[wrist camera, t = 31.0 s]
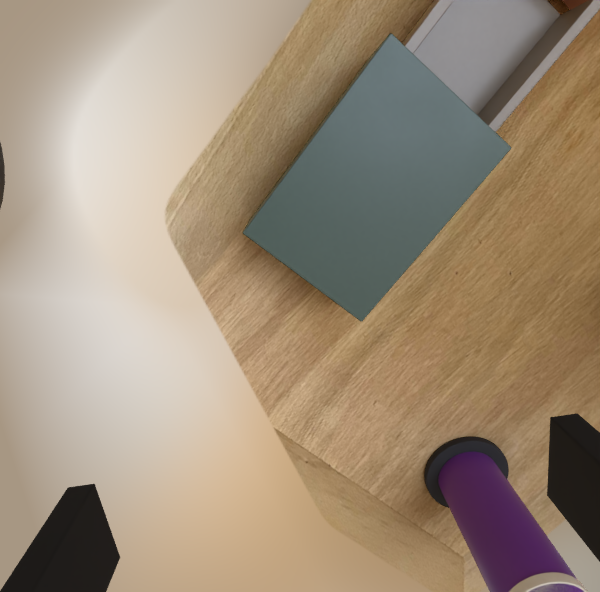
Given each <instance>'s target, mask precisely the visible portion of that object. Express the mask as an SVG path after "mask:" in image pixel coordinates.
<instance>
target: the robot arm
mask: <svg viewBox="0 0 600 592" xmlns="http://www.w3.org/2000/svg"><path fill="white" fill-rule="evenodd" d="M547 496H548V497H549V498H550V499H551V501H552V502H553V503H554V504H555V506H556V507H557V508H558V510H559V511H560V512H561V513H562V515H563V516H564V517H565V518H566V520H567V521H568V522H569V523H570V525H571V526H572V527H573V528H574V530H575V531H576V532H577V534H578V535H579V536H580V537H581V538H582V540H583V541H584V542H585V544H586V545H587V546H588V547H589V549H590V550H591V551H592V552H593V554H594V555H595V556H596V557H597V559H598V560H599V561H600V433H599V432H598V431H597V430H596V429H595V428H594V427H592V426H591V425H590V424H589V423H588V422H587V421H585V420H584V419H583V418H582V417H581V416H580V415H578V414H570V415H564V416H557V417H550V442H549V467H548V492H547ZM119 559H120V556H119V553H118V550H117V547H116V544H115V541H114V539H113V536H112V533H111V530H110V527H109V524H108V521H107V518H106V515H105V513H104V510H103V507H102V504H101V501H100V498H99V495H98V493H97V490H96V487H95V484H90V485H83V486H76V487H69V488H67V490H66V491H65V493H64V495H63V496H62V498H61V499H60V501H59V502H58V504H57V505H56V507H55V508H54V510H53V511H52V513H51V514H50V516H49V517H48V519H47V521H46V522H45V524H44V525H43V527H42V528H41V530H40V531H39V533H38V534H37V536H36V537H35V539H34V540H33V542H32V543H31V545H30V546H29V548H28V549H27V551H26V553H25V554H24V556H23V557H22V559H21V560H20V562H19V563H18V565H17V566H16V568H15V569H14V571H13V572H12V574H11V576H10V577H9V579H8V580H7V582H6V583H5V585H4V586H3V588H2V589H1V591H0V592H106V591H107V588H108V585H109V583H110V580H111V578H112V576H113V573H114V571H115V569H116V566H117V564H118V561H119Z"/></svg>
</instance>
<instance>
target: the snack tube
mask: <svg viewBox="0 0 600 592" xmlns="http://www.w3.org/2000/svg"><path fill="white" fill-rule="evenodd" d="M438 482H439V487H440V489H441V491H442V493H443V495H444V498H445V500H446V502H447V504H448V506H449V508H450V510H451V512H452V514H453V516H454V518H455V520H456V522H457V524H458V527H459V529H460V531H461V533H462V535H463V537H464V539H465V541H466V543H467V545H468V547H469V549H470V551H471V554H472V556H473V558H474V560H475V562H476V564H477V566H478V568H479V570H480V572H481V574H482V576H483V578H484V581H485V583H486V585H487V587H488V589H489V591H490V592H587V590H586V589H585V588H584V586H583V585H582V583H581V582H580V581H578V580H577V578H576V577H575V575H574V574H573V573H572V571H571V570H570V568H569V567H568V566H567V564H566V563H565V561H564V560H563V558H562V557H561V556H560V554H559V553H558V551H557V550H556V549H555V547H554V546H553V544H552V543H551V542H550V540H549V539H548V537H547V536H546V534H545V533H544V531H543V530H542V529H541V527H540V526H539V524H538V523H537V522H536V520H535V519H534V517H533V516H532V514H531V513H530V512H529V510H528V509H527V507H526V506H525V504H524V503H523V502H522V500H521V499H520V497H519V496H518V495H517V493H516V492H515V490H514V489H513V487H512V486H511V485H510V483H509V482H508V480H507V479H506V478H505V476H504V475H503V473H502V472H501V470H500V469H499V468H498V466H497V465H496V463H495V462H494V461H493V459H491V458H490V457H489V456H487V455H485V454H483V453H480V452H464V453H461V454H458V455H456V456H454V457H452V458H451V459H450V460H448V461H447V462H446V463H445V464H444V466H443V467H442V469H441V471H440V473H439V479H438Z"/></svg>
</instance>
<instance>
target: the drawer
mask: <svg viewBox="0 0 600 592" xmlns="http://www.w3.org/2000/svg"><path fill="white" fill-rule="evenodd" d="M562 1H563V2H564V3H565V4H566V6H567V7H568V8H569V9H570V10H569V11H567V12H565V13H563V14H562V15H560V14H559V13H558V12H557V11H556V9H555V8H554V7H553V6H552V5H551V4H550V3H549V2H548V1H547V0H434V1H433V2H432V4H431V5H430V6H429V8H428V9H427V10H426V12H425V13H424V14H423V16H422V17H421V18H420V20H419V21H418V22H417V24H416V25H415V26H414V28H413V29H412V30H411V32H410V33H409V34H408V36H407V37H406V38H405V40H404V41H403V42H402V44H403V45H404V46H405V47H406V48H407V49H408V50H410V51H411V52H412V53H413V54H414V55H415V56H416V57H417V58H418V59H419V60H420V61H421V62H422V63H423V64H424V65H425V66H426V67H427V68H428V69H429V70H431V71H432V72H433V73H434V74H435V75H436V76H437V77H438V78H439V79H440V80H441V81H442V82H443V83H444V84H445V85H446V86H447V87H448V88H449V89H450V90H452V91H453V92H454V93H455V94H456V95H457V96H458V97H459V98H460V99H461V100H462V101H463V102H464V103H465V104H466V105H467V106H468V107H469V108H470V109H472V110H473V111H474V112H475V113H476V114H477V115H478V116H479V117H480V118H481V119H482V120H483V121H484V122H485V123H486V124H487V125H488V126H489V127H490V128H491V129H493V130H494V131H495V132H496V131H497V130H498V129H499V128H500V127H501V125H502V124H503V123H504V122H505V121H506V119H507V118H508V117H509V116H510V115H511V114H512V112H513V111H514V110H515V109H516V108H517V106H518V105H519V104H520V103H521V102H522V101H523V99H524V98H525V97H526V96H527V95H528V93H529V92H530V91H531V90H532V89H533V87H534V86H535V85H536V84H537V83H538V82H539V80H540V79H541V78H542V77H543V76H544V74H545V73H546V72H547V71H548V70H549V69H550V67H551V66H552V65H553V64H554V63H555V61H556V60H557V59H558V58H559V57H560V56H561V54H562V53H563V52H564V51H565V50H566V48H567V47H568V46H569V45H570V44H571V43H572V41H573V40H574V39H575V38H576V37H577V35H578V34H579V33H580V32H581V31H582V30H583V28H584V27H585V26H586V25H587V24H588V22H589V21H590V20H591V19H592V18H593V17H594V15H595V14H596V13H597V12H598V11H599V9H600V0H562Z"/></svg>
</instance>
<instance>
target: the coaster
mask: <svg viewBox="0 0 600 592" xmlns="http://www.w3.org/2000/svg"><path fill="white" fill-rule="evenodd" d="M464 452H480V453H483V454H485V455H487V456H489V457H490V458H491V459H493V461H494V462H495V463H496V465H497V466H498V468H499V469H500V470H501V472H502V473H503V475H504V476H505V478H506V479H507V477H508V463H507V460H506V458H505V456H504V454H503V453H502V452H501V450H500V449H499V448H498V447H497V446H496V445H495V444H494V443H492V442H490V441H488V440H486V439H483V438H479V437H463V438H458V439H455V440H452V441H450V442H448V443H446V444H444V445H443V446H441V447H440V448H439V449H437V450H436V451H435V452H434V454H433V455H432V456H431V457H430V459H429V461H428V463H427V465H426V468H425V483H426V486H427V489H428V491H429V493H430V495H431V496H432V497H433V498H434V499H435V500H436V501H437V502H438V503H440V504H441V505H443V506H445V507H448V508H449V506H448V504H447V502H446V500H445V498H444V495H443V493H442V491H441V489H440V487H439V482H438V479H439V473H440V471H441V469H442V467H443V466H444V464H445V463H446V462H447V461H448V460H450V459H451V458H452V457H454V456H456V455H458V454H461V453H464Z"/></svg>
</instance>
